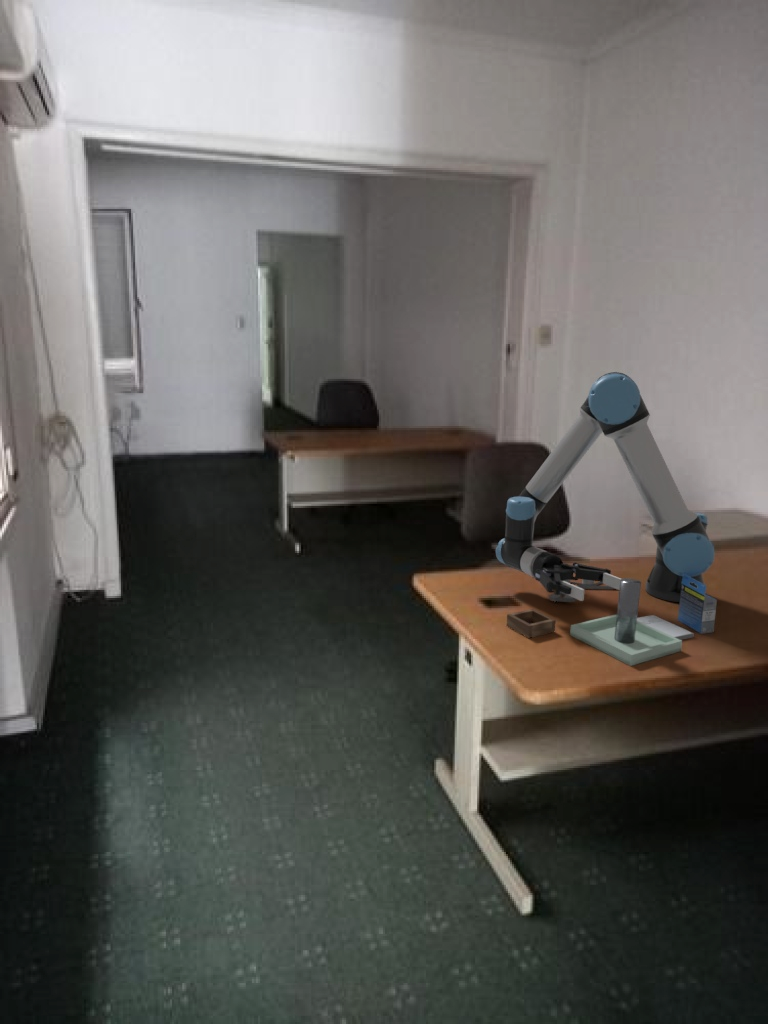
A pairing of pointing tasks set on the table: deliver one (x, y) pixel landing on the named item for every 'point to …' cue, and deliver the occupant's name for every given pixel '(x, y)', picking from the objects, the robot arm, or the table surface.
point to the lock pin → (627, 610)
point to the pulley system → (584, 585)
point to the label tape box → (696, 606)
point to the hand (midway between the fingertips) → (604, 590)
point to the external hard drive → (665, 627)
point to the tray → (642, 650)
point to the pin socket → (537, 628)
